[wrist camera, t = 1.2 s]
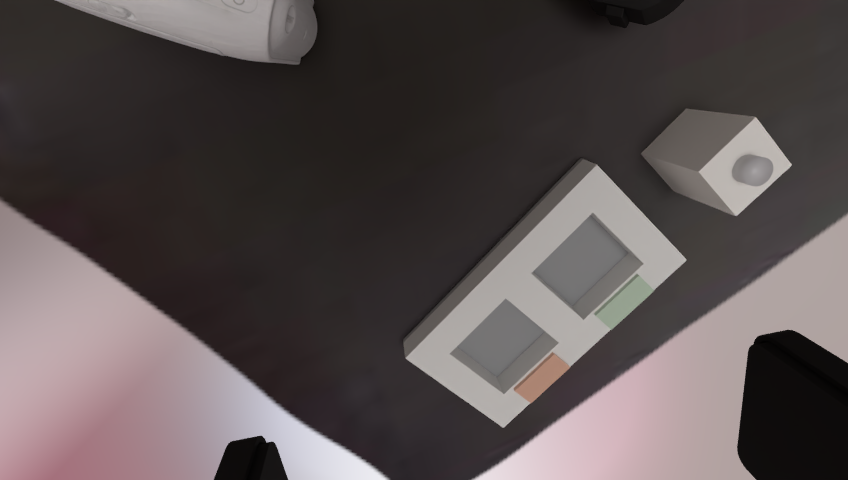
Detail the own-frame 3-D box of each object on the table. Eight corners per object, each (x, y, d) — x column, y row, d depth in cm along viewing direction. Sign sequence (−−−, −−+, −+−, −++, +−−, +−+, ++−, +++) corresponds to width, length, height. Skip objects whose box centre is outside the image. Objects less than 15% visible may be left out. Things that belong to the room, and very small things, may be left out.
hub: (580, 157, 31) (599, 165, 29) (666, 247, 34) (689, 261, 32) (403, 339, 35) (405, 360, 32) (495, 406, 38) (504, 430, 35)
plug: (686, 108, 31) (770, 118, 24) (718, 148, 32) (807, 168, 26) (640, 153, 32) (710, 175, 25) (673, 191, 33) (748, 221, 26)
